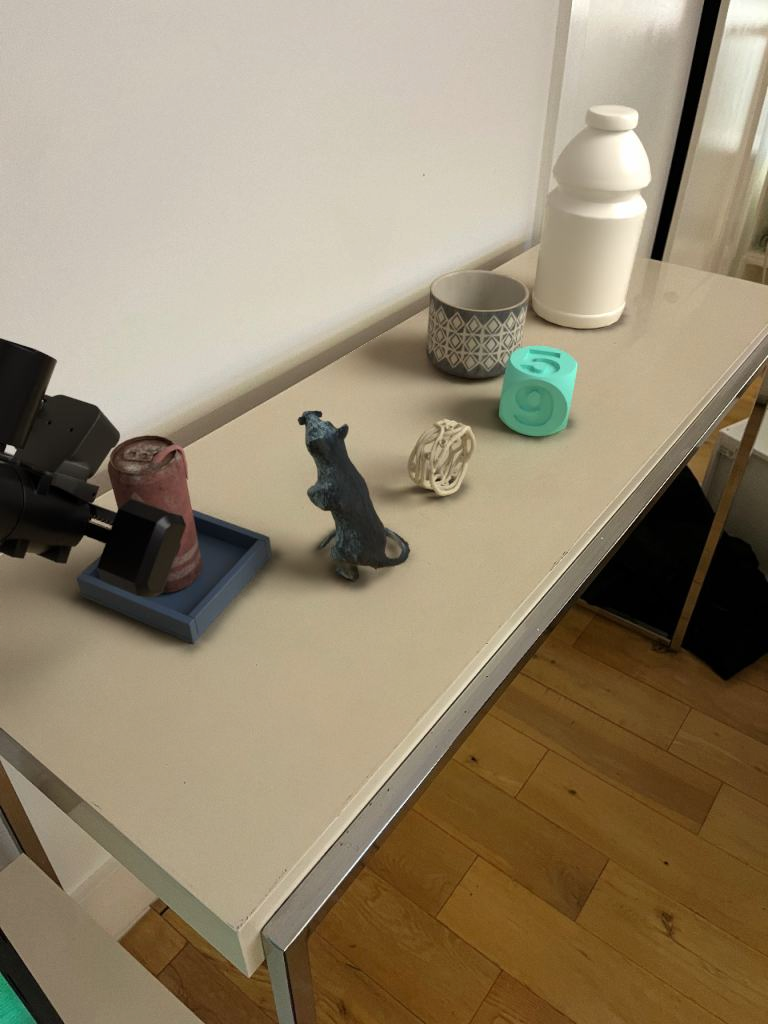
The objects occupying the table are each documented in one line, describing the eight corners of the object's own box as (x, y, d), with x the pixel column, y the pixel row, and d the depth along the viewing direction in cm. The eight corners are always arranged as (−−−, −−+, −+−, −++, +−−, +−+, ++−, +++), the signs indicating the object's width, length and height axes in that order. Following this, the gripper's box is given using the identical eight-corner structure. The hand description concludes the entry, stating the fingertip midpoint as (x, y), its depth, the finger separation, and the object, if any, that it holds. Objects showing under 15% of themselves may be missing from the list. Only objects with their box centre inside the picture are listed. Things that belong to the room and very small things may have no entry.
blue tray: (193, 644, 67) (189, 624, 66) (81, 596, 72) (75, 577, 70) (271, 555, 76) (269, 536, 75) (168, 517, 80) (164, 499, 79)
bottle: (523, 322, 116) (552, 117, 98) (536, 285, 126) (565, 93, 108) (619, 336, 113) (667, 127, 95) (625, 297, 123) (670, 102, 105)
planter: (506, 393, 100) (516, 318, 94) (413, 374, 104) (417, 300, 97) (527, 349, 109) (538, 278, 103) (441, 333, 113) (446, 263, 106)
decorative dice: (568, 407, 98) (580, 350, 93) (563, 441, 92) (574, 382, 87) (505, 397, 99) (513, 340, 94) (496, 431, 93) (503, 372, 88)
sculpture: (343, 511, 82) (340, 386, 72) (425, 556, 76) (433, 429, 67) (287, 552, 77) (275, 425, 67) (370, 604, 71) (370, 474, 62)
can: (216, 578, 73) (195, 457, 64) (151, 606, 70) (120, 483, 61) (190, 542, 77) (167, 423, 68) (127, 567, 74) (94, 446, 65)
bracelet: (476, 476, 87) (483, 415, 81) (434, 511, 82) (439, 449, 77) (447, 462, 88) (452, 402, 83) (404, 496, 84) (407, 434, 79)
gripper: (144, 423, 48) (258, 472, 63) (-69, 355, 54) (80, 414, 69) (82, 594, 47) (212, 603, 62) (-126, 506, 54) (37, 533, 68)
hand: (133, 532), depth 65 cm, fingers open, 9 cm apart
